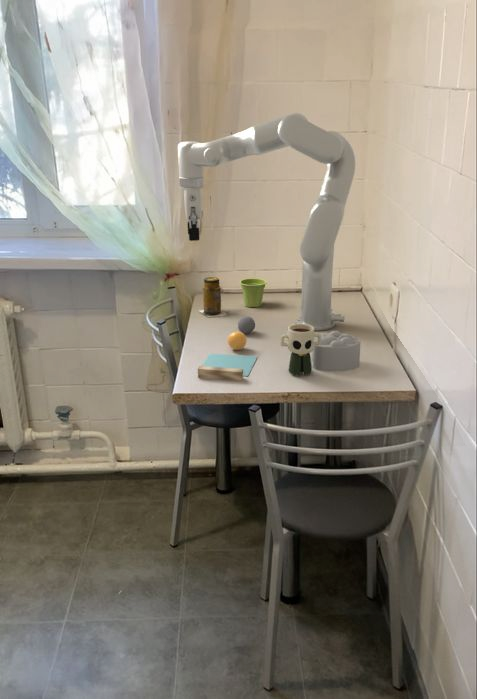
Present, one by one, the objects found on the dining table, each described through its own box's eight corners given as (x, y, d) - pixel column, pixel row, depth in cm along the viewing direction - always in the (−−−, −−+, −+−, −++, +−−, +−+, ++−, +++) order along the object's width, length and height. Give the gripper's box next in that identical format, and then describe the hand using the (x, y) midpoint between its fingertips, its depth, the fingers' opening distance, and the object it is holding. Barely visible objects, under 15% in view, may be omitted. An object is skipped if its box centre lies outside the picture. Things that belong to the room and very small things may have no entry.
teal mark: (257, 357, 190) (257, 356, 190) (247, 376, 178) (247, 375, 178) (210, 353, 193) (210, 353, 193) (197, 372, 180) (197, 372, 180)
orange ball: (248, 346, 198) (248, 329, 196) (244, 353, 193) (244, 335, 191) (230, 345, 199) (229, 328, 197) (226, 352, 194) (225, 334, 192)
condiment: (217, 308, 234) (216, 275, 229) (227, 314, 226) (227, 281, 222) (198, 311, 231) (197, 277, 226) (208, 318, 223) (207, 283, 219)
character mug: (281, 379, 176) (282, 333, 171) (278, 368, 182) (278, 324, 178) (322, 377, 177) (324, 331, 172) (317, 367, 183) (319, 322, 178)
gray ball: (256, 330, 211) (256, 314, 209) (253, 336, 206) (253, 320, 204) (239, 329, 212) (239, 313, 210) (236, 335, 207) (236, 319, 205)
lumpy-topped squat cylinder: (311, 357, 190) (312, 328, 187) (357, 357, 189) (358, 329, 186) (313, 371, 181) (314, 341, 177) (361, 372, 180) (363, 342, 177)
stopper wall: (243, 377, 177) (243, 369, 176) (241, 380, 175) (241, 372, 174) (200, 374, 179) (199, 365, 178) (198, 377, 178) (197, 368, 177)
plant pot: (253, 299, 242) (253, 276, 239) (271, 305, 236) (271, 281, 233) (234, 305, 236) (234, 281, 233) (252, 311, 230) (252, 286, 227)
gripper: (205, 186, 199) (207, 242, 206) (201, 179, 215) (203, 231, 222) (180, 187, 199) (182, 243, 205) (178, 179, 215) (181, 232, 221)
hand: (193, 237), depth 213 cm, fingers open, 9 cm apart
